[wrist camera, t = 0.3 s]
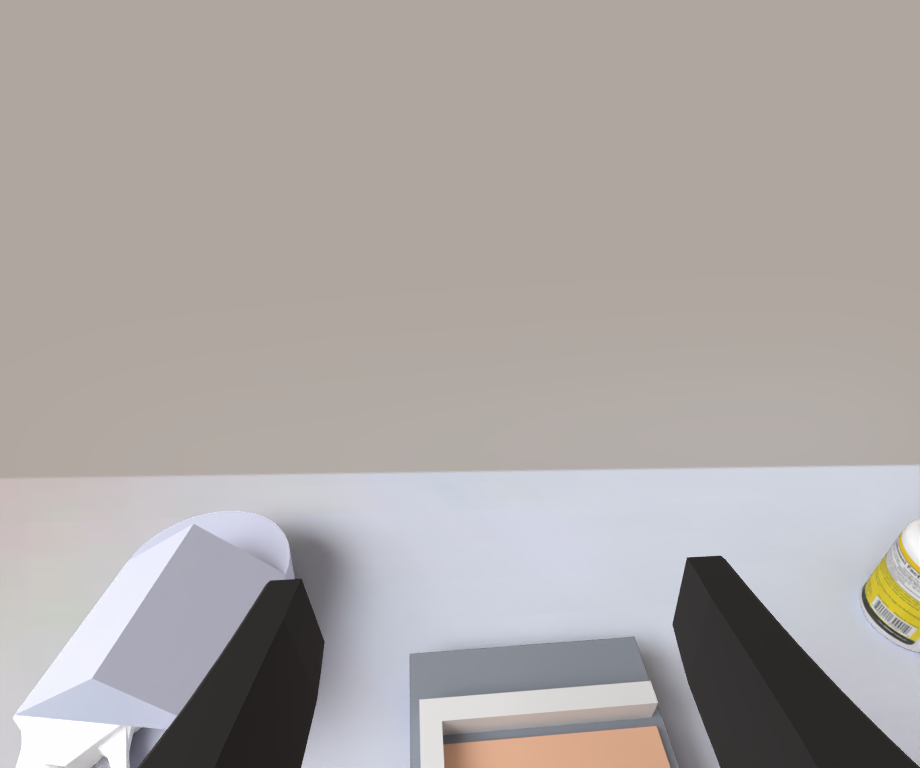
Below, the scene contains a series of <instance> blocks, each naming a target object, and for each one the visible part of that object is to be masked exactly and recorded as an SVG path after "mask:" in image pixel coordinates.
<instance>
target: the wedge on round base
mask: <svg viewBox="0 0 920 768" xmlns="http://www.w3.org/2000/svg"><path fill="white" fill-rule="evenodd" d="M288 579H295V576H294V571H293V565H292V559H291V553H290V548H289V543H288V540H287V538H286V536H285V534H284V533H283V531H282V530H281V528H279V527H278V526H277V525H276V524H275V523H274V522H272V521H271V520H269V519H267V518H265V517H263V516H261V515H258V514H255V513H250V512H245V511H218V512H211V513H206V514H202V515H198V516H195V517H191V518H189V519H186V520H183V521H181V522H179V523H176V524H174V525H172V526H170V527H168V528H167V529H165V530H163V531H161V532H160V533H158V534H157V535H155V536H154V537H152V538H151V539H150V540H149V541H147V542H146V543H145V544H144V545H142V546H141V547H140V548H139V549H138V550H137V551H136V552H135V553H134V555H133V556H132V557H131V558H130V559H129V561H128V562H127V563H126V565H125V566H124V567H123V569H122V570H121V571H120V573H119V574H118V575H117V577H116V578H115V579H114V581H113V582H112V584H111V585H110V586H109V588H108V589H107V590H106V592H105V593H104V594H103V596H102V597H101V598H100V600H99V601H98V602H97V604H96V605H95V607H94V608H93V609H92V611H91V612H90V613H89V615H88V616H87V617H86V619H85V620H84V621H83V623H82V624H81V626H80V627H79V628H78V630H77V631H76V632H75V634H74V635H73V636H72V638H71V639H70V640H69V642H68V643H67V644H66V646H65V647H64V649H63V650H62V651H61V653H60V654H59V655H58V657H57V658H56V659H55V661H54V662H53V663H52V665H51V666H50V668H49V669H48V670H47V672H46V673H45V674H44V676H43V677H42V678H41V680H40V681H39V682H38V684H37V685H36V686H35V688H34V689H33V691H32V692H31V693H30V695H29V696H28V697H27V699H26V700H25V701H24V703H23V704H22V705H21V707H20V708H19V710H18V711H17V712H16V714H15V715H18V716H29V717H40V718H50V719H61V720H72V721H82V722H93V723H104V724H114V725H125V726H136V727H146V728H157V729H168V727H169V726H170V725H171V723H172V722H173V721H174V719H175V718H176V717H177V715H178V714H179V713H180V711H181V710H182V709H183V707H184V706H185V705H186V703H187V702H188V700H189V699H190V698H191V696H192V695H193V693H194V692H195V690H196V689H197V688H198V686H199V685H200V683H201V682H202V680H203V679H204V678H205V676H206V675H207V673H208V672H209V670H210V669H211V667H212V666H213V665H214V663H215V662H216V660H217V659H218V657H219V656H220V654H221V653H222V651H223V650H224V648H225V647H226V645H227V644H228V642H229V641H230V639H231V638H232V636H233V635H234V633H235V632H236V630H237V629H238V627H239V626H240V624H241V623H242V621H243V619H244V618H245V616H246V615H247V613H248V612H249V610H250V609H251V607H252V605H253V604H254V602H255V601H256V599H257V598H258V596H259V594H260V593H261V591H262V590H263V588H264V586H265V585H266V584H267V583H268V582H269V581H270V580H288Z"/></svg>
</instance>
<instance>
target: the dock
mask: <svg viewBox="0 0 920 768" xmlns="http://www.w3.org/2000/svg"><path fill="white" fill-rule="evenodd" d="M410 768H679V766H678V763H677V760H676V757H675V754H674V751H673V748H672V745H671V742H670V739H669V736H668V733H667V731H666V728H665V725H664V722H663V719H662V716H661V713H660V710H659V707H658V701H657V698H656V695H655V692H654V689H653V686H652V683H651V681H649V678H648V675H647V672H646V669H645V667H644V664H643V661H642V658H641V655H640V652H639V649H638V646H637V643H636V640H635V637H625V638H612V639H599V640H585V641H572V642H559V643H546V644H533V645H520V646H507V647H494V648H480V649H467V650H454V651H441V652H428V653H415V654H410Z"/></svg>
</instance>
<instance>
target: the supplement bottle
mask: <svg viewBox="0 0 920 768" xmlns="http://www.w3.org/2000/svg"><path fill="white" fill-rule="evenodd" d="M860 603H861V607H862V609H863V612H864V614H865V615H866V617H867V619H868V620H869V622H870V623H871V624H872V625H873V626H874V627H875V628H876V629H877V630H878V631H879V632H880V633H881V634H882V635H883V636H885V637H886V638H887V639H889V640H890V641H892V642H894V643H895V644H897V645H899V646H901V647H903V648H906V649H908V650H911V651H914V652H918V653H920V519H917V520H915V521H913V522H911V523H910V524H908V525H907V526H906V527H905V529H904V530H903V531H902V533H901V534H900V535H899V537H898V538H897V540H896V541H895V542H894V544H893V545H892V547H891V548H890V550H889V551H888V552H887V554H886V555H885V557H884V558H883V559H882V561H881V562H880V564H879V565H878V566H877V568H876V569H875V571H874V572H873V574H872V575H871V576H870V578H869V579H868V581H867V582H866V584H865V585H864V587H863V588H862V590H861V593H860Z"/></svg>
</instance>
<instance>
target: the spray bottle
mask: <svg viewBox="0 0 920 768" xmlns="http://www.w3.org/2000/svg"><path fill="white" fill-rule="evenodd" d="M13 719H14V720H15V722H16V723H17V725H18V727H19V728H20V730H21V731H22V749H21V752H20V755H19V759H18V762H17V766H16V768H91V767H92V766H93V765H95V764H96V763H97V762H98V761H99V760H100V759H101V758H103V757H104V756H105V757H107V758H108V761H109V764H110V768H130V760H129V750H130V746H131V741H132V736H133V733H135V732H136V731H138V730H139V729H140V728H142V727H136V726H125V725H114V724H104V723H93V722H82V721H72V720H61V719H50V718H40V717H29V716H18V715H14V718H13Z"/></svg>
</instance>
